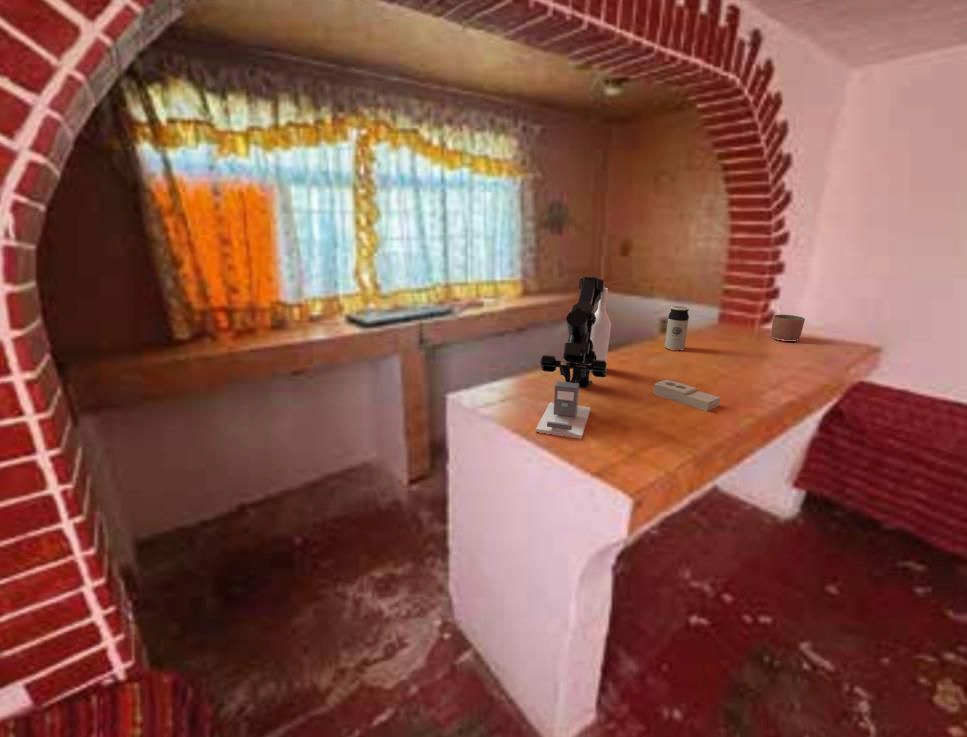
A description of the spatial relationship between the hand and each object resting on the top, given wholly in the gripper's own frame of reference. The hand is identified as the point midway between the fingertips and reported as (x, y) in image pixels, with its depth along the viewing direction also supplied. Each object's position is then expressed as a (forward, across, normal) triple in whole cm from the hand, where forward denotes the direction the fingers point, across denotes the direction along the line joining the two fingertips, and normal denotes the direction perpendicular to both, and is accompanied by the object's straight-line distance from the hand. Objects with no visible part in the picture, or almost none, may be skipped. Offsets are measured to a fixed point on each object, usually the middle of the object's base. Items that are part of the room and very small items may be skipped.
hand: (568, 392), depth 138 cm
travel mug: (-57, +32, +66) cm, 93 cm away
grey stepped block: (-12, +33, +22) cm, 41 cm away
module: (+6, 0, 0) cm, 7 cm away
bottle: (-27, +3, +37) cm, 46 cm away
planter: (-81, +82, +91) cm, 147 cm away
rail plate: (+9, 0, +1) cm, 9 cm away
